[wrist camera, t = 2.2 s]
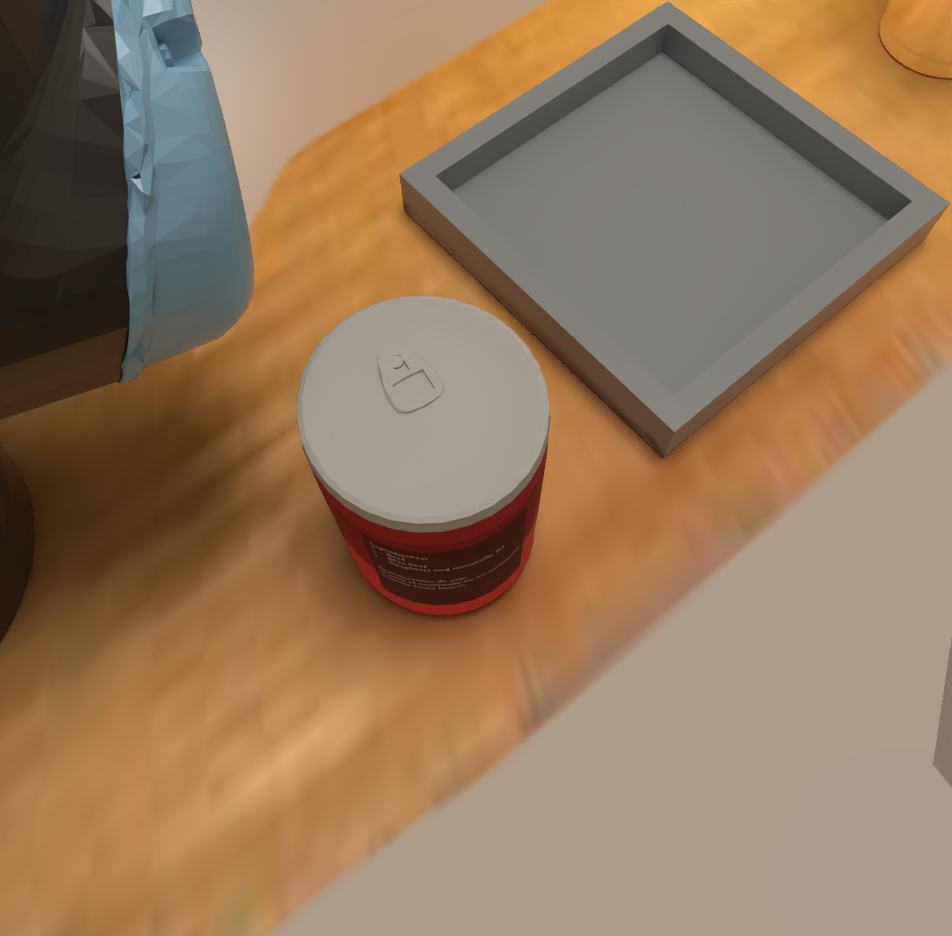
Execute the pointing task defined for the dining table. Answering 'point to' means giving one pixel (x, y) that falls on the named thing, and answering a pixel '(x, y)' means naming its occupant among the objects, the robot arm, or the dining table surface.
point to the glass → (919, 35)
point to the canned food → (428, 448)
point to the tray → (668, 219)
